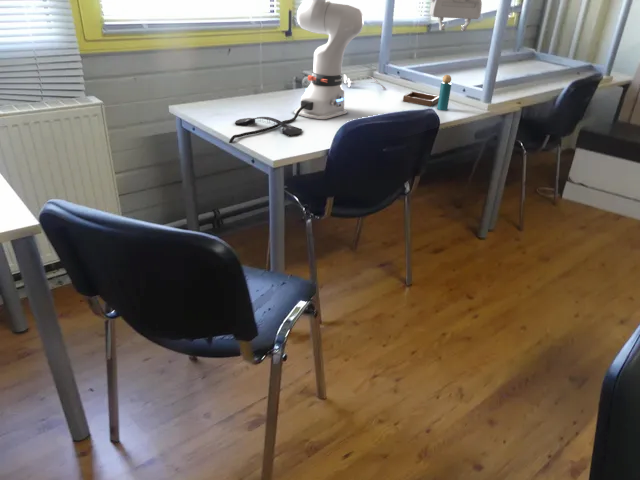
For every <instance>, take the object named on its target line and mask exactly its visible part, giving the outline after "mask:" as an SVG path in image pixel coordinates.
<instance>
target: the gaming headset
mask: <svg viewBox="0 0 640 480" xmlns="http://www.w3.org/2000/svg"><path fill="white" fill-rule="evenodd" d="M262 120H263V121H262ZM265 120H267V121H265ZM256 121H257V122H259V123H260V122H262V123H264V124H265V123H266V124H267V125H268V124H269V125H270V124H271V125H272V126H274V125H276V124H278V125H280V127H282V129H281V130H282V135H284V136H288V137H298V136H300V135H302V132H303V129H302V128H300V127H297V126H293V125H289V124H287V123H283V122H282V120H279V119H276V118H274V117H269V116H257V117H245V118H239V119H236V120H235V121H234V124H235V125H236V126H243V127H244V126H245V127H247V126H251V125H253V124H255V123H256ZM270 121H271V122H272V123H271V122H270ZM273 122H274V123H273ZM278 125H277V126H278ZM278 127H279V126H278Z"/></svg>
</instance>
